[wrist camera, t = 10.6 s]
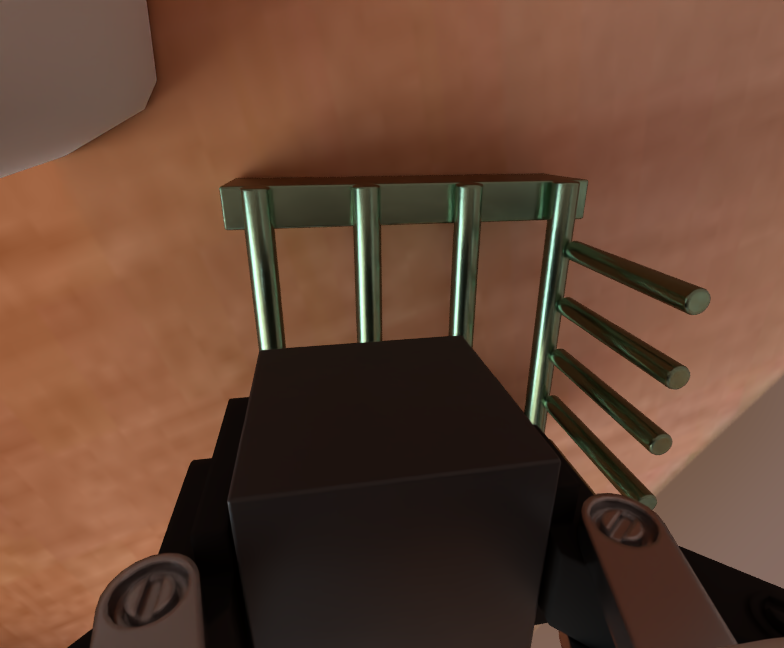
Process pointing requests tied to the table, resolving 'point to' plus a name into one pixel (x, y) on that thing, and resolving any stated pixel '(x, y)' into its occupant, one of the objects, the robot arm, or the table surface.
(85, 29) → the cup
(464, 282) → the rack
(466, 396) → the box
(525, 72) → the table surface
